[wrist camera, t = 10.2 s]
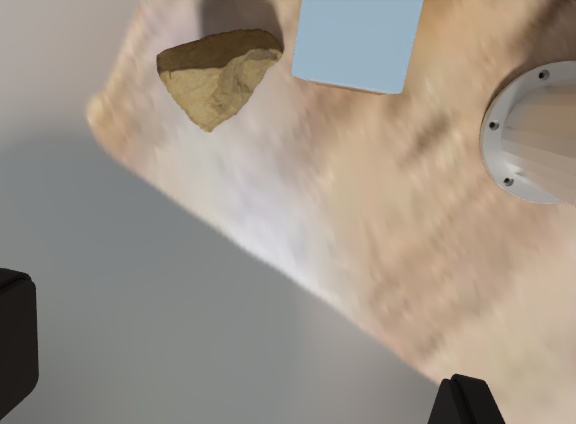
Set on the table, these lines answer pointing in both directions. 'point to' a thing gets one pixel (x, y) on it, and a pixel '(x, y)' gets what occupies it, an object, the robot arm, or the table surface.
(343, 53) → the blue block
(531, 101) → the robot arm
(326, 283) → the table surface
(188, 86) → the rock
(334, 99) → the table surface
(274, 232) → the table surface
